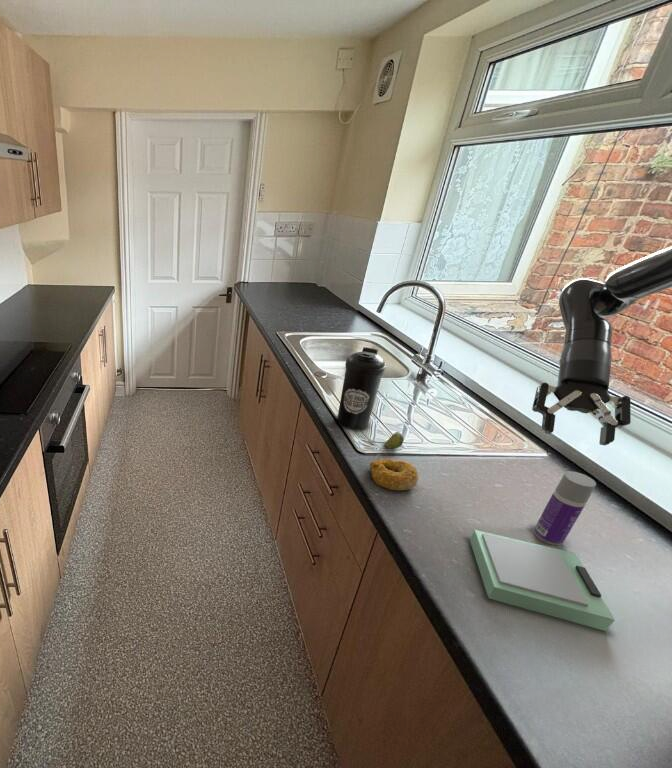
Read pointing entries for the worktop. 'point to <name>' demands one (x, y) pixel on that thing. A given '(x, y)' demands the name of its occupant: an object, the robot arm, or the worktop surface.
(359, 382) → the water bottle
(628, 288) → the robot arm
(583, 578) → the scale
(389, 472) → the bagel
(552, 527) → the container
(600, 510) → the worktop surface
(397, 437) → the lime
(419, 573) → the worktop surface
